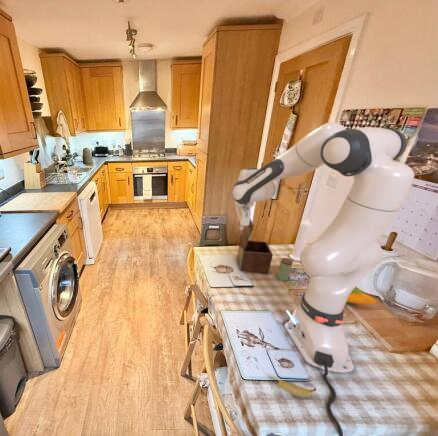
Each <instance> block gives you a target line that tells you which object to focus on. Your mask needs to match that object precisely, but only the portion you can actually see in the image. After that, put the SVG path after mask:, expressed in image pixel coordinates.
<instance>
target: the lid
mask: <svg viewBox="0 0 438 436" xmlns="http://www.w3.org/2000/svg"><path fill="white" fill-rule="evenodd" d="M239 223H240V221H239ZM254 227H255V225H254V223H253V221H252V219H251V218H250V223H249V226H244V229H243V230H241V233H240V236H239V243H240V242H241V246H242V249H243V251H245V248H246V246H247V243H248V240H250V238H251V234H252V231H253V230H254Z"/></svg>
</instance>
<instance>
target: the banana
mask: <svg viewBox="0 0 438 436" xmlns="http://www.w3.org/2000/svg"><path fill="white" fill-rule="evenodd" d="M276 383H277V385H278V386H279V387H280V388H281V389H282V390H283V391H285V392H286V393H289V394H292V395H294V396H296V397H301V398H309V397H311V395H313V393H314V392H316V391H317V388H316V386H314V388H313V389H307V388H303V387H300V386H297V385H294V384H292V383H289V382H288V381H285V380H282V379H277V382H276Z"/></svg>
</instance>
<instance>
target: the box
mask: <svg viewBox="0 0 438 436" xmlns="http://www.w3.org/2000/svg"><path fill="white" fill-rule="evenodd" d="M236 259H237V263H238V268H239V271H240V272H249V273H257V274H267V275H269V272H270V268H271V263H272V260H273V252H272V250H271V248H270V246H269V244H268V243H267V241H262V240H261V241H260V240H252V239H251V240H250V239H249V240H248V243H247V246H246V248H245V251H243V249H242V246H241V242H240V241H239V243H238V249H237V255H236Z"/></svg>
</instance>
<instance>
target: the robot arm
mask: <svg viewBox="0 0 438 436" xmlns="http://www.w3.org/2000/svg"><path fill="white" fill-rule="evenodd" d="M407 146H408V140H407V138H406V136H405V134H404V133H403V132H402V131H400V130H398V129H396V128H392V127H374V126H364V127H363V126H362V127H356V128H346V127H345V126H344V125H343V124H342V123H341V124H340V123H338V122H334V121H333V122H331V121H330V122H326V123H324V124H322V125H319V126H318V127H317V128H315V129H313V130H311V131H310V132H308V133H307V134H306V135H305V136H303V137H302V138H301V139H299V140H298V141H297V142H296V143H294V144H293V145H292V146H291V147H290V148H288V149H286V150H285V151H284V152H282V154H280V155H279V156H277V157H275V158H274V159H272V160H271V161H269V162H268V163H266V164H265V165H263V166H262V167H261V168H257V167H246V168H242V169H240V171H239V174H238V178H237V182H236V183H234V185H233V187H232V190H231V196H232V199H233V200H234V205H235V213H236V216H237V224H238V225H239V226H238V228H239V230H240V231H242V230H243V229H244V226H249V223H250V219H251V216H252V215H251V214H252V213H251V211H252V210H251V207H254V206H255V203H257V202H263V201H268V200H271V199H272V198H273V197H274V196H275V194H276V185H275V183H274V182H275V181H278V180H279V181H280V180H284V179H288V178H289V179H290V178H295V177H300V176H304V175H306V174H309V173H311V172H313V171H315V170H317V169H319V168H320V167H322V166H324V165H325V166H326V167H328V168H330V169H332V170H334V171H336V172H338V173H339V174H340V175H342V176H344V177H352V178H353V183H352V186H351V188H350V189H349V191H348V193H347V195H346V197H345V199H344V201H343V203H342V205H341V207H340V209H339V210H338V212H337V213H336V216H335V217H334V219H333V221H331V223H330V224H329V225H328V226H327V227H326V228H325V229H324V230H323V232H322V233H321V234H320V235H319V236H318V237H317V238H316V239H315V240H314V241H313V242H312V243H310V244H308V245H306V246H305V248H304V249H303V250H302V252H301V255H300V260H301V261H300V263H301V266H302V268H303V269H304V271H305V272H307V273H308V274H309V275H311V276H310V278H309V281H308V284H307V287H306V289H305V292H304V293H303V294H302V296H301V298H300V302H299V305H298V307H296V308H295V309H294V310H293V312H292V313H290V311H289V310H286V313H287V314H288V316H289V317H290V318H289V321H286V322H285V323H284V325H283V327H284V329H285V331H286V332H287V334H288V335H289V338H290V339H291V340H292V342H293V343H294V345H295V347H296V348H297V350H298V351H299V352H300V355H301V356H302V358H303V359H304V361H305V362H306V363H308V364H309V365H311V366H313V367H314V368H315V367H316V368H318V369H321V370H324V373H323V379H324V382H325V384H326V385H327V387H328V388H329V389H330V390H331V393H332V396H331V398H330V399H329V400H328V401H327V404H326V409H327V412H328V415H329V416H330V418H331V419H332V421H333V422H334V424H335V426H336V428H337V431H338V436H344V433H343V429H342V426H341V424H340V422H339V421H338V419H337V418H336V417H335V415H334V413H333V412H332V409H331V408H332V407H331V406H332V404H333V403H334V402H335V400H336V398H337V393H336V391H335V388H334V387H333V386H332V385H331V383H330V381H329V379H328V374H329V372H334V373H342V374H343V373H344V374H345V373H351V372H352V371H354V369H355V366H354V363H353V361H352V358H351V356H350V352H349V351H350V349H349V345H351V344H352V340H351V338H350V336H346V333H345V329H346V326H345V325H344V323H346V322H345V321H344V317H345V313H344V311H345V310H344V308H345V306H346V305H347V304H346V303H348V302H347V299H348V297H349V295H350V294H351V292H352V291H353V289H354V288H355V289H356V287H357V286H358V285H359V284H360V282H361V281H362V280H363V279H364V277H365V276H366V275H367V274H368V273H369V272H370V271H371V270H372V268H373V267H375V266H376V265H377V264H379V263H380V262H381V261H382V259H383V256H384V252H383V248H382V247H381V245H380V244H379V243H378V241H376V240H377V239H378V238H380V237H381V236H382V235H383V234H384V233H385V232H386V230H387V228H388V227H389V226H390V224H391V223H392V221H393V220H394V218H395V216H396V215H397V213H398V212H399V211H400V209H401V207H402V206H403V204H404V203H405V201H406V200H407V197H408V195H409V192H410V191H411V188H412V185H413V182H414V179H415V171H414V170H413V169H412V167H410V166H409V165H407V164H405V163H404V162H400V161H396V160H398V159H400V157H401V156H403V154H404V153H405V151H406V149H407ZM239 221H240V223H239Z"/></svg>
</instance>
